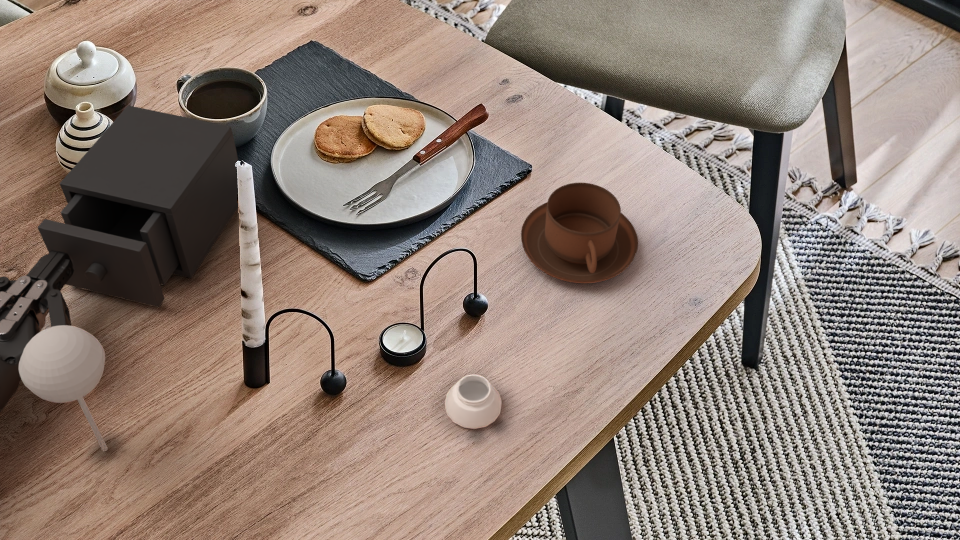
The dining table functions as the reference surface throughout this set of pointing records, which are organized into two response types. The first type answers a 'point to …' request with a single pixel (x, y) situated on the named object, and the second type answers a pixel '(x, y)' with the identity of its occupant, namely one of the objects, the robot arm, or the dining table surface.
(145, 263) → the black rectangular drawer
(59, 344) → the lollipop
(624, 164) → the dining table surface
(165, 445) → the dining table surface
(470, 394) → the lidless jar
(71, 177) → the small drawer cabinet
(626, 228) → the cup and saucer
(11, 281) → the robot arm
